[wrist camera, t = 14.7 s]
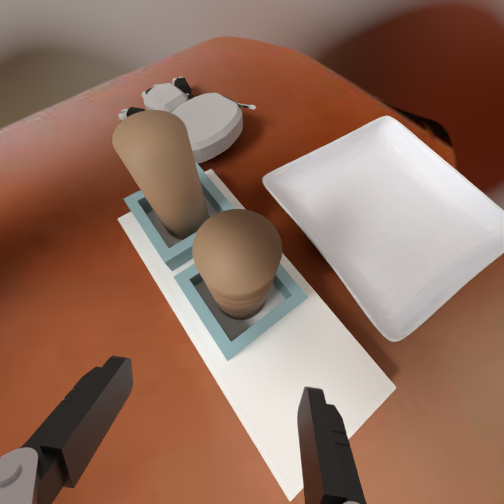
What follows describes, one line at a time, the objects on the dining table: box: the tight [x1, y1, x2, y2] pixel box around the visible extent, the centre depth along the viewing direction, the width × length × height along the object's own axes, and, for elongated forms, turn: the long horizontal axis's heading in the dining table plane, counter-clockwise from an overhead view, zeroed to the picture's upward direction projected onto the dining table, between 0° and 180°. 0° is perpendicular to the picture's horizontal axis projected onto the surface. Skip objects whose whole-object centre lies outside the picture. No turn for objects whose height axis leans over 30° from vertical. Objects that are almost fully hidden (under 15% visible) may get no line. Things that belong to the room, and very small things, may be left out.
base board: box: [112, 110, 396, 501], centre depth 18 cm, size 12×29×12 cm, turn 37°
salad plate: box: [262, 116, 504, 342], centre depth 27 cm, size 21×21×3 cm
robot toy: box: [118, 76, 256, 163], centre depth 31 cm, size 12×4×15 cm
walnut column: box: [192, 209, 282, 320], centre depth 18 cm, size 5×5×11 cm
